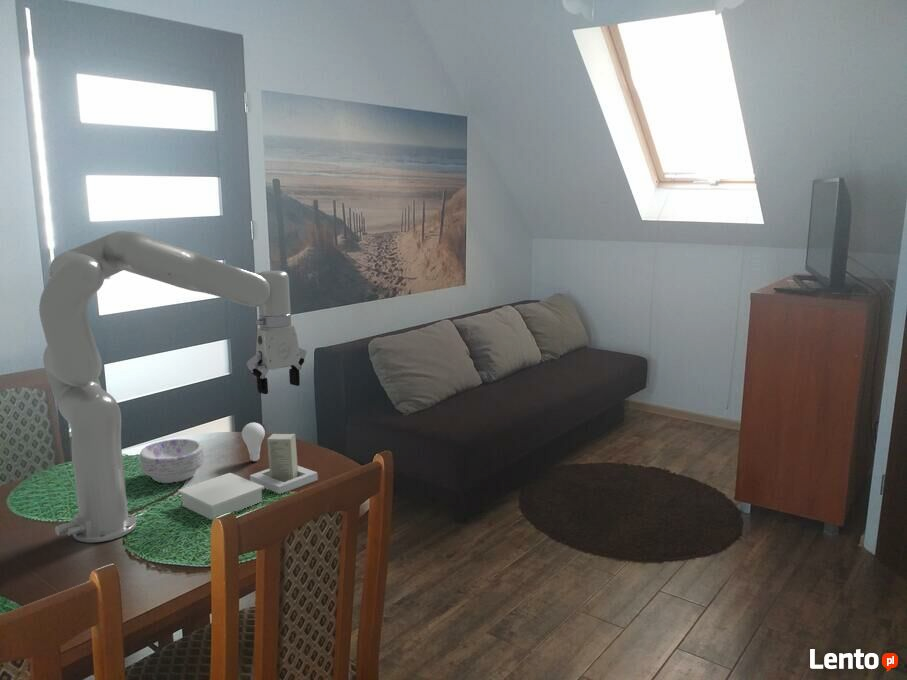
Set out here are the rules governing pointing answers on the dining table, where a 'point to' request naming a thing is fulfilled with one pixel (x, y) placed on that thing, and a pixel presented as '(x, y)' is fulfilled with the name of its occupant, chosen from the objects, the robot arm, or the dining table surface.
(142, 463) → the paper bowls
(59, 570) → the dining table surface
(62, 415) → the robot arm
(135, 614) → the dining table surface
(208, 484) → the stand
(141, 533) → the dining table surface
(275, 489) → the frame
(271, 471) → the skincare box
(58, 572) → the dining table surface
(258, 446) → the lightbulb
